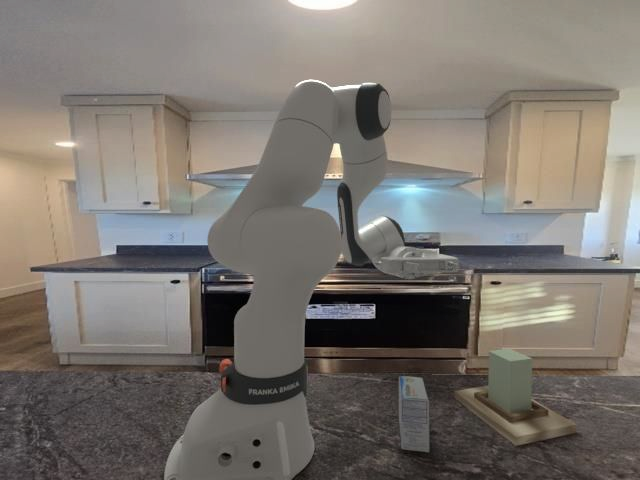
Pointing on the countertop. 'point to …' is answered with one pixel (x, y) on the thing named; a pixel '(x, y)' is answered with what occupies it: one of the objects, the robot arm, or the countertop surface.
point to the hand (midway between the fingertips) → (438, 267)
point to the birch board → (516, 418)
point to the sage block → (510, 380)
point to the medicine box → (413, 414)
